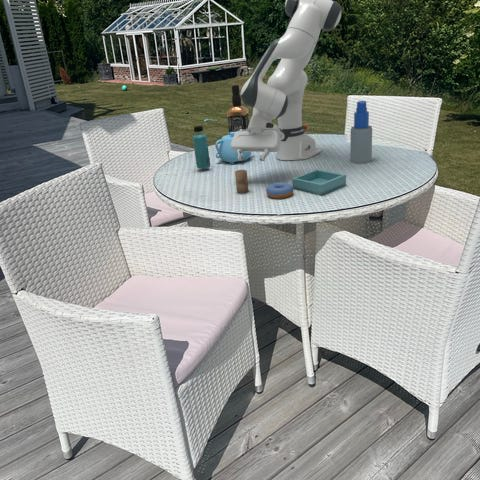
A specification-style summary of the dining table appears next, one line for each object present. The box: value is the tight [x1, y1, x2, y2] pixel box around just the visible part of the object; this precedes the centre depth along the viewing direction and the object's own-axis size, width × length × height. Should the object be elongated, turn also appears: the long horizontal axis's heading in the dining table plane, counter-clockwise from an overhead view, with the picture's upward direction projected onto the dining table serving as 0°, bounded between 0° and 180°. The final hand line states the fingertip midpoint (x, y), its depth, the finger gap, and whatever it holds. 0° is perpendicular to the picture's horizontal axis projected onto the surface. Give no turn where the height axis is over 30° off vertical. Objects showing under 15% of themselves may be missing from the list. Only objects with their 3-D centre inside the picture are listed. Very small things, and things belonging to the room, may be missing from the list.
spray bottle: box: [349, 100, 373, 165], centre depth 190 cm, size 9×9×25 cm
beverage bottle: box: [192, 125, 211, 170], centre depth 202 cm, size 6×7×20 cm
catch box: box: [291, 169, 347, 196], centre depth 168 cm, size 14×14×4 cm
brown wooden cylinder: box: [234, 169, 250, 194], centre depth 171 cm, size 4×4×8 cm
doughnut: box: [265, 181, 294, 200], centre depth 164 cm, size 10×10×5 cm
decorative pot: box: [214, 132, 252, 165], centre depth 214 cm, size 16×16×14 cm
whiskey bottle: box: [226, 84, 250, 135], centre depth 232 cm, size 10×10×32 cm
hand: (250, 160), depth 173 cm, fingers open, 8 cm apart
